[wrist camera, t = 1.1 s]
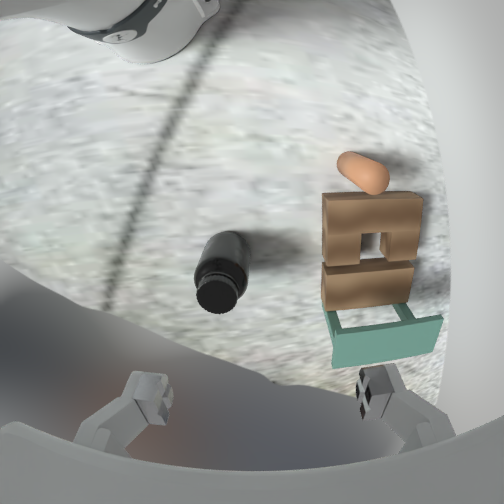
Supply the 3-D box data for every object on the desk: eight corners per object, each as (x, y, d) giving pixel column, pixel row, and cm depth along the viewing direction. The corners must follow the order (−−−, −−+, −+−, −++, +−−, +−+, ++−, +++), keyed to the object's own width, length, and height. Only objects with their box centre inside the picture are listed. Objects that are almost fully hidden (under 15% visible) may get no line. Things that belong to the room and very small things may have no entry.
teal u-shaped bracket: (318, 275, 46) (336, 334, 33) (405, 268, 45) (443, 318, 32) (317, 307, 48) (332, 368, 35) (399, 298, 47) (432, 352, 34)
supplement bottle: (202, 231, 43) (183, 271, 32) (249, 229, 43) (245, 270, 32) (207, 272, 46) (192, 320, 35) (251, 272, 46) (248, 320, 35)
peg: (336, 151, 37) (359, 162, 28) (361, 151, 37) (390, 162, 28) (337, 177, 39) (359, 195, 30) (361, 176, 39) (389, 194, 30)
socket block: (322, 193, 40) (327, 200, 36) (410, 191, 39) (423, 198, 36) (320, 296, 47) (325, 311, 44) (399, 289, 46) (407, 302, 43)
